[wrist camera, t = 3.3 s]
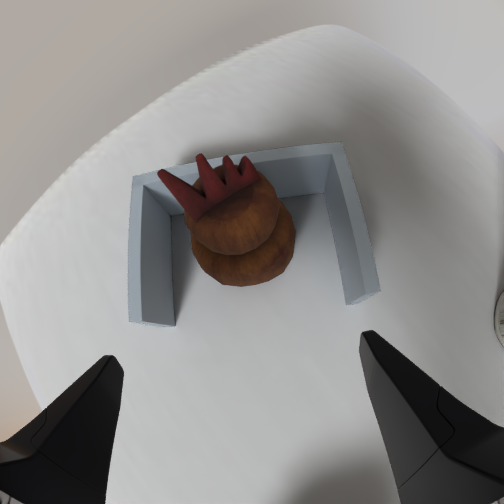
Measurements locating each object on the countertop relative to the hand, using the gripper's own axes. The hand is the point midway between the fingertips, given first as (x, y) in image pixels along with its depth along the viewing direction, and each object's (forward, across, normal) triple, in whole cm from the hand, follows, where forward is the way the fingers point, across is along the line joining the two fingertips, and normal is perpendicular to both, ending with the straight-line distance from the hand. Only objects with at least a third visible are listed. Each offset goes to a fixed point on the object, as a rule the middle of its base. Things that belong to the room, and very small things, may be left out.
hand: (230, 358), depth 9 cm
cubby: (+14, 0, +4) cm, 15 cm away
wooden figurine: (+15, 0, +4) cm, 15 cm away
